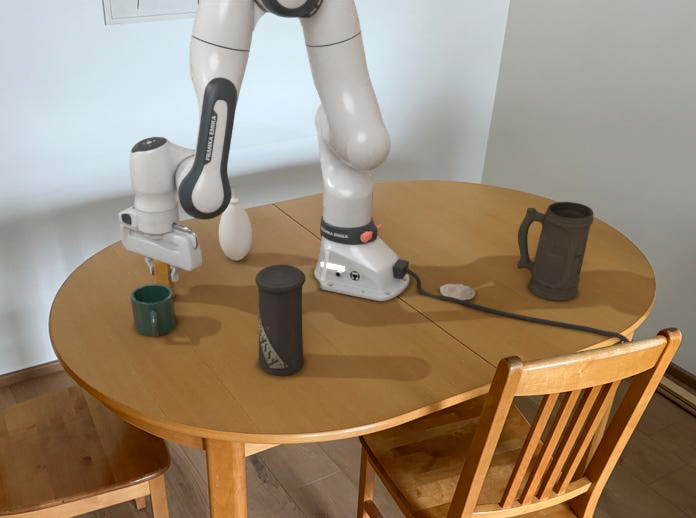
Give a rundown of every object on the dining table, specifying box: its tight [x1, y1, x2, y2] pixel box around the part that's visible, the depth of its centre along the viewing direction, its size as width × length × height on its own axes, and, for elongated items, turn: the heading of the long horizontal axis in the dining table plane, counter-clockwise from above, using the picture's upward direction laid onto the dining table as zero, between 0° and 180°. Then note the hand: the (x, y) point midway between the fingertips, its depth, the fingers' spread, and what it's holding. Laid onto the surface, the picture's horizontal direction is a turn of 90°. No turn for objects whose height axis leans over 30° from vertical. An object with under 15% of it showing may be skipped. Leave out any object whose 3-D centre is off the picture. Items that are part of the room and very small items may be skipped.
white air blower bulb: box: [218, 188, 253, 262], centre depth 170 cm, size 8×8×18 cm
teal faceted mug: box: [130, 283, 177, 339], centre depth 146 cm, size 12×8×8 cm
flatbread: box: [439, 283, 476, 301], centre depth 161 cm, size 8×8×1 cm
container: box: [254, 264, 306, 377], centre depth 132 cm, size 9×9×20 cm
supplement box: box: [154, 259, 176, 298], centre depth 156 cm, size 3×3×10 cm
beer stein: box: [516, 201, 594, 302], centre depth 159 cm, size 15×11×20 cm
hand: (164, 277), depth 156 cm, fingers closed on supplement box, 4 cm apart
